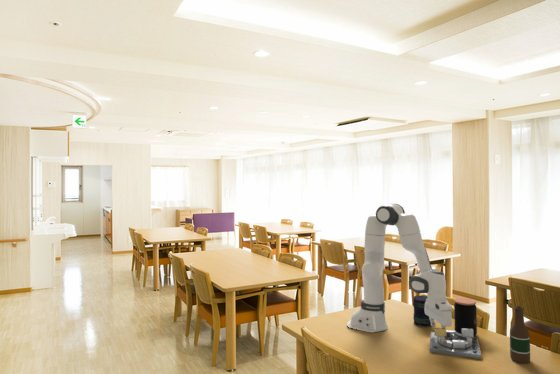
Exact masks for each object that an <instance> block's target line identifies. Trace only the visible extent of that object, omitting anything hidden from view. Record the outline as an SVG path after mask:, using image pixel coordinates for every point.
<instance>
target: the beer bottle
mask: <svg viewBox="0 0 560 374" xmlns="http://www.w3.org/2000/svg"><path fill="white" fill-rule="evenodd" d="M513 309H514V319H513V320H514V321H513V324H512V326H511V327H510V329H509V354H510V355H509V357H510V359H511V360H512V361H513V362H515V363H518V364H529V363H531V338H530V332H529V329H528V328H527V327H526V325H525V319H524V316H525V315H524V307H523V306H520V305H516V306H514V308H513Z"/></svg>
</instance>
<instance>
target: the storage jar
mask: <svg viewBox="0 0 560 374" xmlns="http://www.w3.org/2000/svg"><path fill="white" fill-rule="evenodd" d="M412 297H413V298H412V301H413V302H412V304H413V305H412V307H413V324H414V325H415V326H417V327H421V328H427V327H432V326H431V322H430V319H429V316H427V315H426V314H425V312H424V309H425V302H426V299H427V298H428V295H415V296H412Z"/></svg>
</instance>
